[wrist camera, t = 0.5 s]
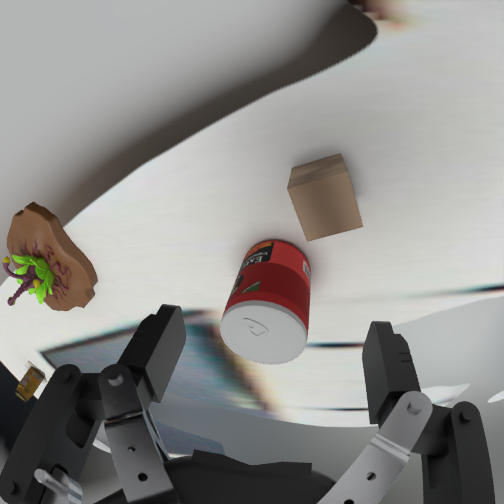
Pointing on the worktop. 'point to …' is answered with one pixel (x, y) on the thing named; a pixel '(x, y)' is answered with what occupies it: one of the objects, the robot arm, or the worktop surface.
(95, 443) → the teacup
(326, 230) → the walnut block
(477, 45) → the worktop surface
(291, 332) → the canned food
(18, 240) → the plant
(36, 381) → the condiment
